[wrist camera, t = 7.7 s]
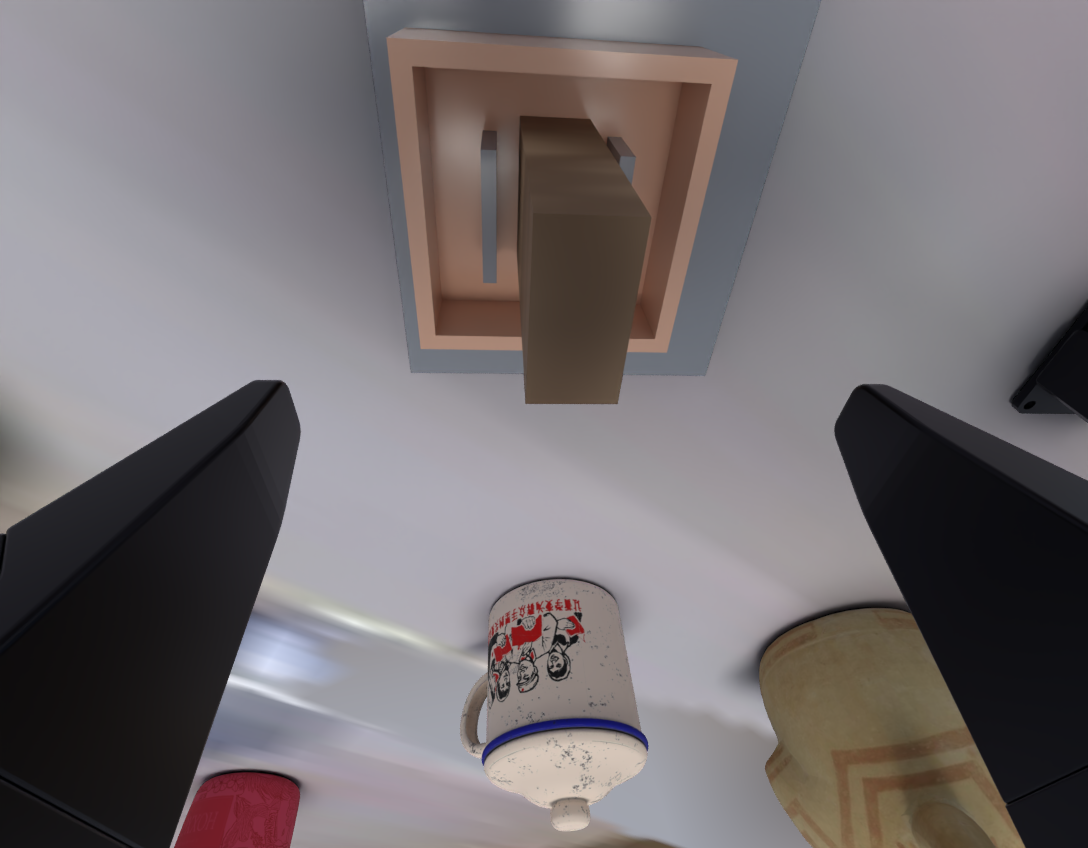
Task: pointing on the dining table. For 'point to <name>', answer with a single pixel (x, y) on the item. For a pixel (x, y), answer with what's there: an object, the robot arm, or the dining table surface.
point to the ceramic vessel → (874, 740)
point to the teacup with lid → (557, 700)
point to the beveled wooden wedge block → (575, 262)
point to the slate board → (738, 168)
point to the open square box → (493, 163)
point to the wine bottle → (241, 813)
